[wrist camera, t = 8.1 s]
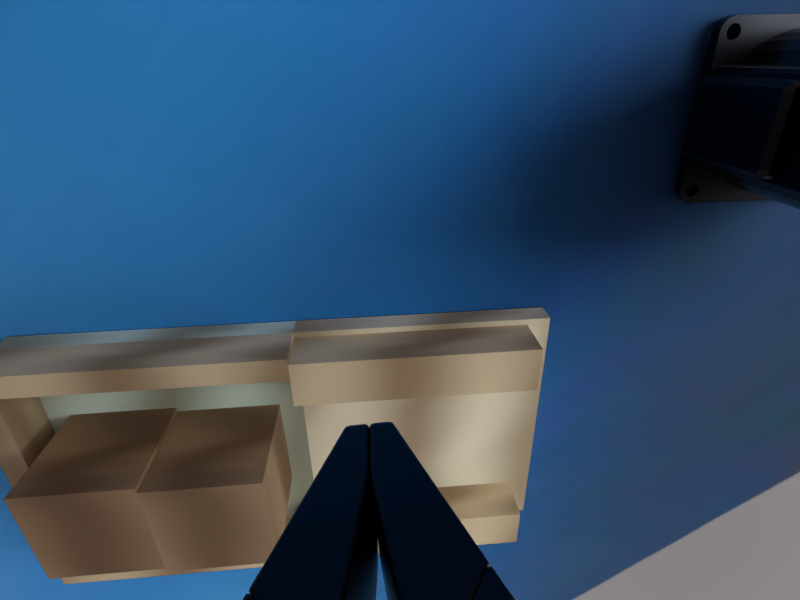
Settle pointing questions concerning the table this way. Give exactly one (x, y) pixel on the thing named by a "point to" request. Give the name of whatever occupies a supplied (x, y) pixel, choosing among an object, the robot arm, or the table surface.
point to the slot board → (309, 395)
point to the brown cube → (218, 487)
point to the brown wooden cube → (92, 494)
